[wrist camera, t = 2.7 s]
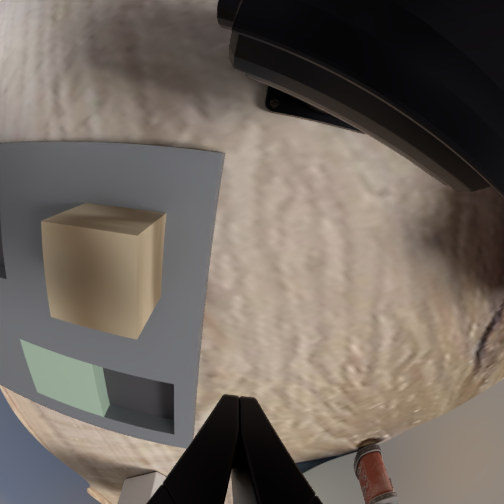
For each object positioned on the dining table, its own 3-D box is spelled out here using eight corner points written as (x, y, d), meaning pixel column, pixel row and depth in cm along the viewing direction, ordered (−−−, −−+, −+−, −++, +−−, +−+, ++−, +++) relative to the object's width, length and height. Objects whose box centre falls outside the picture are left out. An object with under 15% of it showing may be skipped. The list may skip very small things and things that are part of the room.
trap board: (224, 153, 16) (222, 153, 15) (193, 433, 24) (191, 449, 22) (-32, 146, 15) (-48, 148, 13) (2, 371, 23) (-6, 381, 21)
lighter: (378, 470, 28) (397, 530, 18) (353, 478, 28) (369, 539, 19) (382, 440, 25) (409, 512, 16) (353, 450, 26) (374, 524, 16)
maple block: (166, 213, 16) (137, 235, 11) (160, 296, 17) (137, 339, 13) (86, 202, 15) (41, 221, 11) (87, 281, 17) (50, 316, 12)
